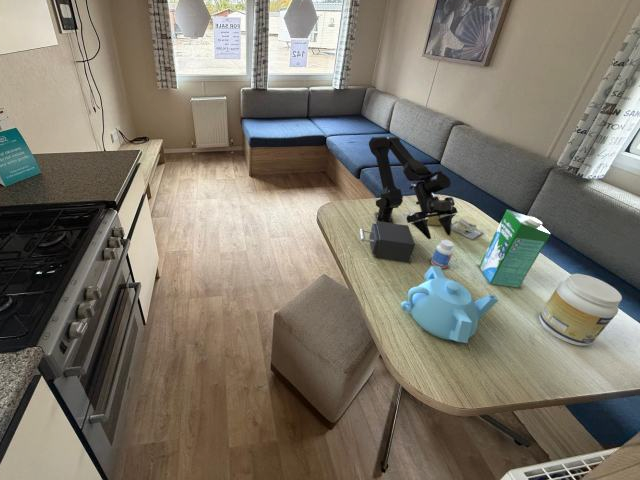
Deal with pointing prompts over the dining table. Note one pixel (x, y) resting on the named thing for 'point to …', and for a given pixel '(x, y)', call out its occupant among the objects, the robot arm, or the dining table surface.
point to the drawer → (371, 238)
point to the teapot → (446, 307)
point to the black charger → (394, 242)
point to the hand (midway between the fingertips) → (439, 237)
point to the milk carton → (513, 249)
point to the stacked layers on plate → (466, 227)
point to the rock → (434, 221)
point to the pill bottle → (442, 254)
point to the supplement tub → (580, 309)
